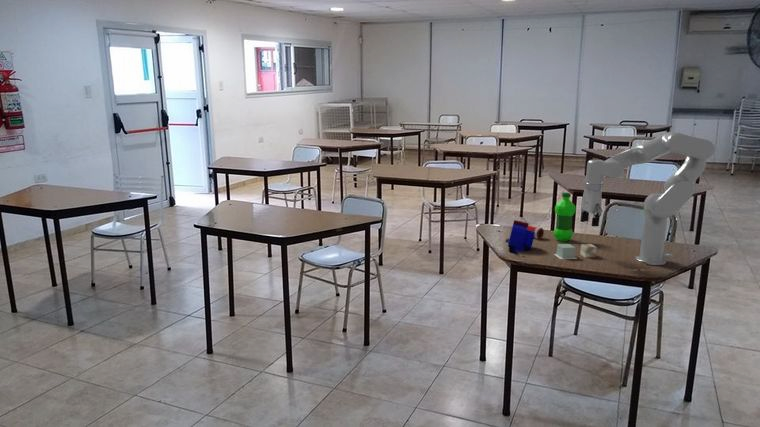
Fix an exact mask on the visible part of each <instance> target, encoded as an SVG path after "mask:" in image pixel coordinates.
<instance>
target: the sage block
mask: <svg viewBox="0 0 760 427" xmlns="http://www.w3.org/2000/svg"><path fill="white" fill-rule="evenodd" d="M555 254H556V255H558V256H559V257H561V258H574V257H576V246H573V245H572V244H571V243H558V244H557V245H556V253H555Z"/></svg>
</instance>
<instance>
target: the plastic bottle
mask: <svg viewBox="0 0 760 427" xmlns="http://www.w3.org/2000/svg"><path fill="white" fill-rule="evenodd" d="M571 197H572V196H571V192H562V193H561V198H562V199H561V200H560V201H558V202H557V203H556V205H555V206H554V214H556V222H555V223H556V224H555V228H554V230H553V236H554V238H555V239H557V241H559V242H568V241H569V240H571V239H572V238H573V236H574V231H573V228H572V226H573V225H572V224H573V216H574V215H575V213H576V209H577V208H576V205H575V204H574V203H573V202H572V201H571V200H570V198H571Z"/></svg>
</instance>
